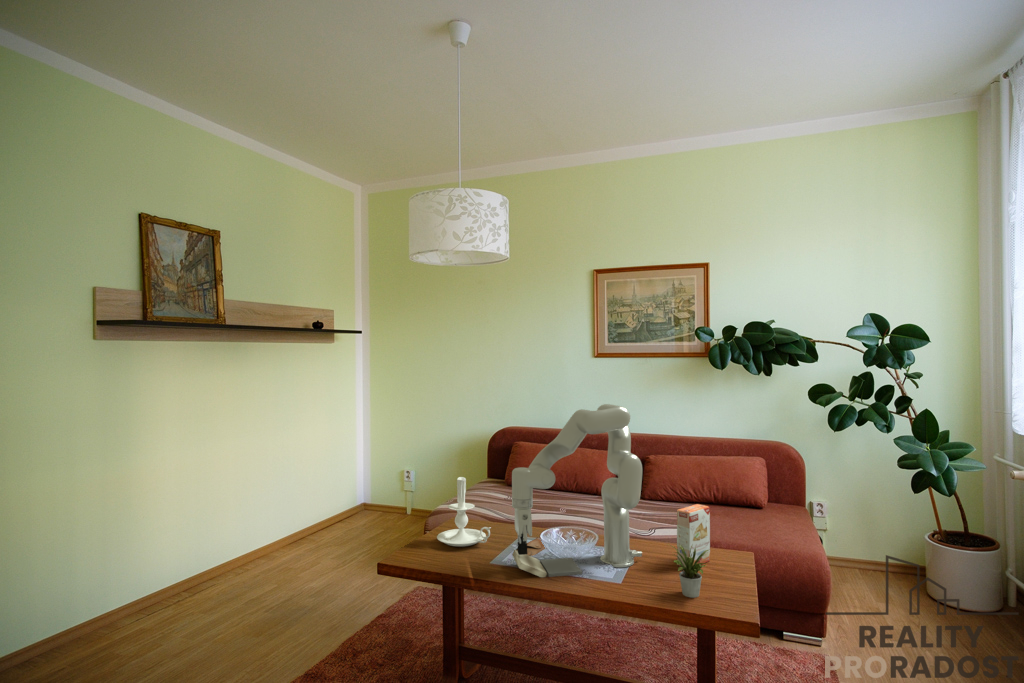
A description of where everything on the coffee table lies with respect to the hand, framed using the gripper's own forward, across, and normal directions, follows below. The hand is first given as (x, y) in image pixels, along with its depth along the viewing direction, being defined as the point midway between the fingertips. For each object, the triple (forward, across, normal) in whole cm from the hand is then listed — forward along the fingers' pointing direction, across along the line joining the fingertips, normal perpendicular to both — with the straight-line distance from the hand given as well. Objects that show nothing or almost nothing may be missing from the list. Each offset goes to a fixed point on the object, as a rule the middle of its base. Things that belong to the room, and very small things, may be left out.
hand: (522, 553), depth 201 cm
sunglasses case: (+8, +22, -9) cm, 25 cm away
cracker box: (+7, -2, -66) cm, 66 cm away
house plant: (+7, -27, -50) cm, 57 cm away
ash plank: (+5, 0, -2) cm, 5 cm away
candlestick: (+8, +37, +17) cm, 42 cm away
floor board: (+7, 0, -14) cm, 16 cm away
